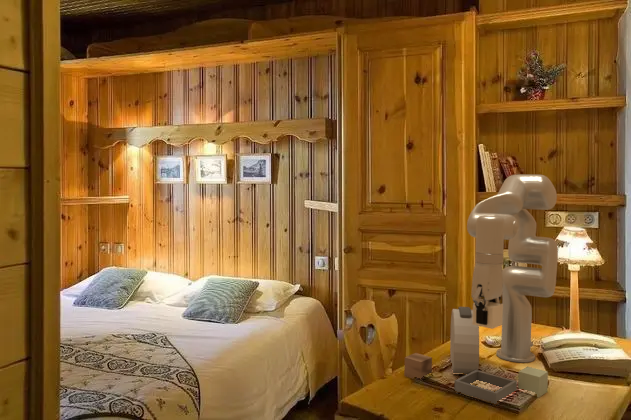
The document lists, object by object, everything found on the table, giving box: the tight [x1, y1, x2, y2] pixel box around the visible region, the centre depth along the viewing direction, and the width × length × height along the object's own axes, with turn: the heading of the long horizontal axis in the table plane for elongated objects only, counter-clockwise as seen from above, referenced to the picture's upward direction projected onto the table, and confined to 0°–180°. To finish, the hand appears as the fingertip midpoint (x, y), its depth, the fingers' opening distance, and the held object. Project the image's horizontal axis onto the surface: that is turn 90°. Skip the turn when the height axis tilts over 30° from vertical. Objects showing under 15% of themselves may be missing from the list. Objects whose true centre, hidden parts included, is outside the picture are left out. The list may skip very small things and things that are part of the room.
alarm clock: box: [449, 306, 480, 374], centre depth 172 cm, size 21×8×20 cm, turn 168°
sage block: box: [517, 365, 549, 399], centre depth 153 cm, size 6×6×6 cm
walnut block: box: [404, 352, 433, 380], centre depth 165 cm, size 6×6×6 cm
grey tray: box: [454, 369, 518, 404], centre depth 152 cm, size 13×13×4 cm
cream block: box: [472, 300, 503, 330], centre depth 151 cm, size 6×6×6 cm
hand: (487, 321), depth 151 cm, fingers closed on cream block, 6 cm apart
